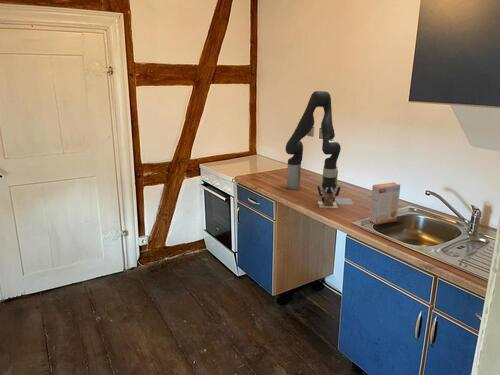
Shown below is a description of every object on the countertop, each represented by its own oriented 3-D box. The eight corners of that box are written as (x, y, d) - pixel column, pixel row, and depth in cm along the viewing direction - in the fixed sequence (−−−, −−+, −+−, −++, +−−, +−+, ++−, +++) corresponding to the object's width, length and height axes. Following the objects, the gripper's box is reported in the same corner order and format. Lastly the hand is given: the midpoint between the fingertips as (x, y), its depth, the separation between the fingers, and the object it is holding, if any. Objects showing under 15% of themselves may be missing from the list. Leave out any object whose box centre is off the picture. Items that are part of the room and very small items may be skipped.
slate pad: (337, 204, 231) (337, 204, 231) (334, 198, 242) (334, 198, 242) (354, 205, 230) (354, 204, 230) (350, 198, 242) (350, 198, 242)
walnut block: (324, 206, 227) (325, 193, 225) (322, 202, 234) (323, 190, 232) (332, 206, 227) (333, 193, 225) (331, 202, 234) (331, 190, 232)
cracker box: (389, 217, 210) (393, 181, 204) (396, 221, 204) (401, 184, 198) (368, 221, 205) (372, 184, 199) (375, 225, 199) (379, 187, 193)
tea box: (336, 191, 257) (338, 170, 253) (321, 191, 259) (322, 170, 255) (336, 185, 271) (337, 165, 267) (322, 185, 273) (323, 165, 269)
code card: (319, 207, 226) (319, 207, 226) (317, 201, 236) (317, 201, 236) (338, 207, 225) (338, 207, 225) (335, 202, 236) (335, 201, 236)
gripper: (318, 176, 222) (316, 204, 227) (342, 177, 222) (340, 204, 226) (316, 173, 229) (315, 200, 234) (340, 174, 229) (338, 200, 234)
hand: (327, 202), depth 230 cm, fingers closed on walnut block, 5 cm apart
